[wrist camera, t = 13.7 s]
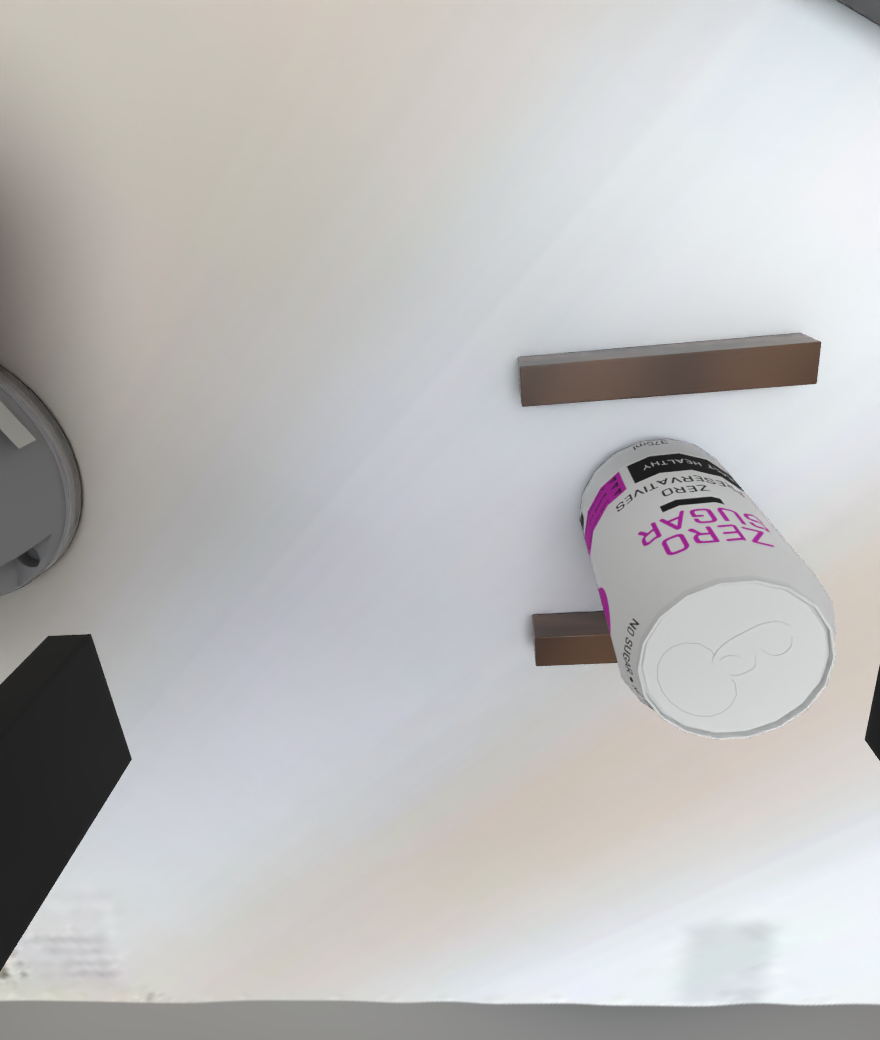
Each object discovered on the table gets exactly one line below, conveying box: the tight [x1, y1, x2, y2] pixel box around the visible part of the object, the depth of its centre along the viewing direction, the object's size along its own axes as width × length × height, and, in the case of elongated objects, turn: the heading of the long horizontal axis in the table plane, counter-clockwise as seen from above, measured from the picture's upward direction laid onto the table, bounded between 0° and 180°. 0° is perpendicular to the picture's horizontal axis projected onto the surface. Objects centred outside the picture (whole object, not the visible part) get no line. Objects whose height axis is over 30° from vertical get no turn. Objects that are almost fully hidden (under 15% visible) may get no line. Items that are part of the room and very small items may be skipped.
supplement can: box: [580, 439, 836, 740], centre depth 33 cm, size 8×8×15 cm
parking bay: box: [518, 333, 821, 666], centre depth 39 cm, size 14×18×2 cm
